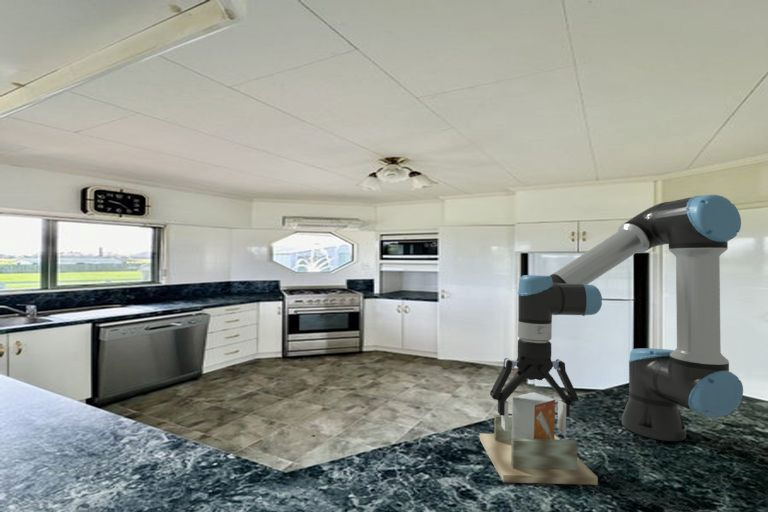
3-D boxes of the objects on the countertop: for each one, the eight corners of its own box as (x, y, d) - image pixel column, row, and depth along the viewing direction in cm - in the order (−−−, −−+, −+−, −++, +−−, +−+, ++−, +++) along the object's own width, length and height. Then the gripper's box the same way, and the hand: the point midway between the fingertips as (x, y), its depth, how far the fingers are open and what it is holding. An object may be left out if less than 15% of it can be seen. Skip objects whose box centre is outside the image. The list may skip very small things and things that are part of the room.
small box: (533, 463, 86) (534, 405, 87) (510, 451, 92) (511, 396, 92) (555, 454, 91) (556, 399, 91) (531, 443, 96) (532, 391, 96)
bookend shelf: (555, 441, 101) (555, 412, 101) (597, 484, 81) (598, 448, 81) (479, 439, 101) (480, 410, 101) (503, 482, 81) (503, 446, 81)
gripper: (486, 341, 88) (485, 435, 88) (595, 344, 88) (594, 437, 88) (478, 335, 96) (477, 421, 95) (578, 337, 96) (577, 423, 95)
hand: (533, 429), depth 91 cm, fingers open, 13 cm apart
